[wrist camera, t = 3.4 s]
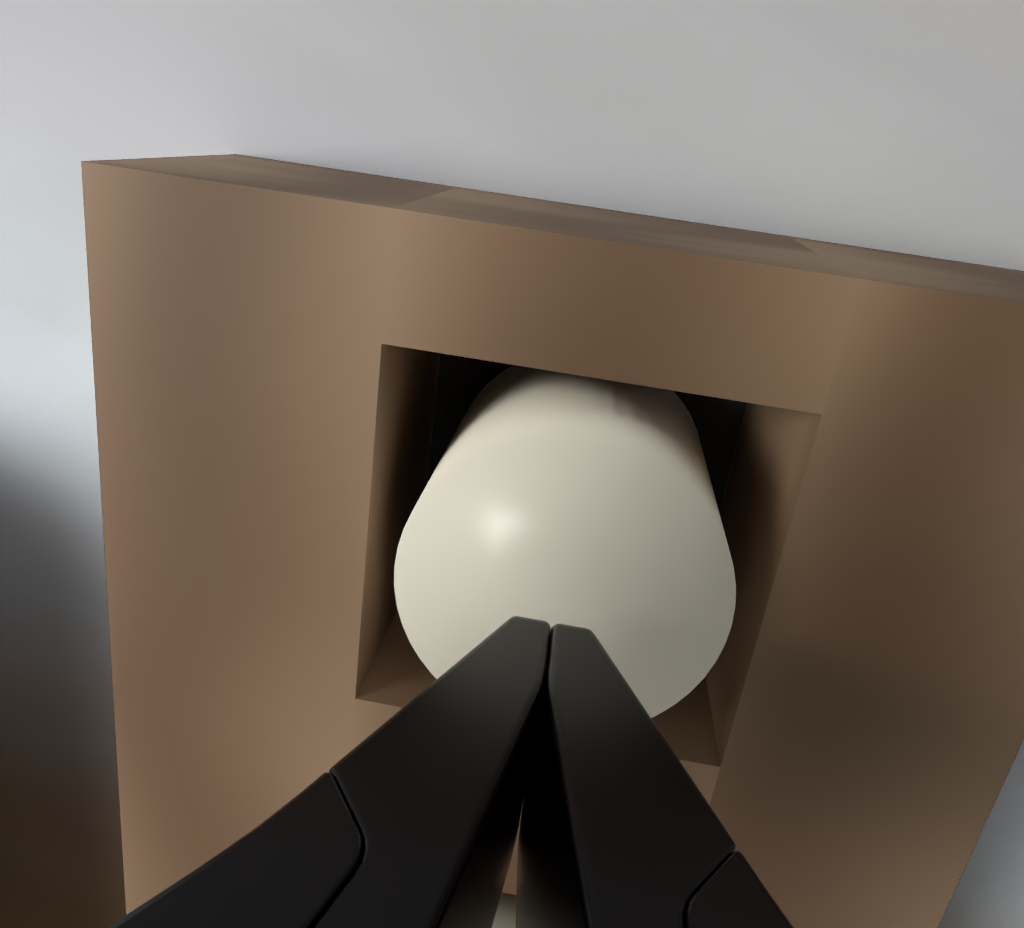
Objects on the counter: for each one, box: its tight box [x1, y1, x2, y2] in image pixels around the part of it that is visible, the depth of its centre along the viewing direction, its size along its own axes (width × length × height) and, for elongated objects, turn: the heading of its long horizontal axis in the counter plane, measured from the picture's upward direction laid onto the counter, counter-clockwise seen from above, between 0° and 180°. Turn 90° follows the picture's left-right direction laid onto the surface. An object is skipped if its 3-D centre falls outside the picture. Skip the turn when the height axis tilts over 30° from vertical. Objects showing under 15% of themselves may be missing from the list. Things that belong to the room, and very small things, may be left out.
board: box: [81, 154, 1024, 928], centre depth 15 cm, size 12×24×4 cm, turn 172°
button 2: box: [394, 365, 736, 718], centre depth 12 cm, size 4×4×4 cm
